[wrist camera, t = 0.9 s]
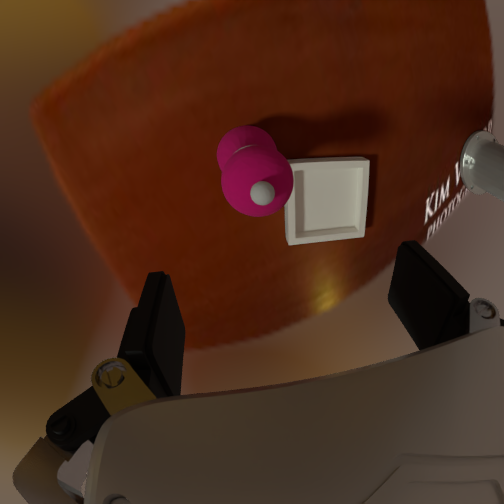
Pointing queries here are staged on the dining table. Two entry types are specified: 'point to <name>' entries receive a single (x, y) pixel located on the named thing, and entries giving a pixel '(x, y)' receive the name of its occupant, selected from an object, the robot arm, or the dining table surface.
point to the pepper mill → (254, 172)
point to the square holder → (327, 199)
